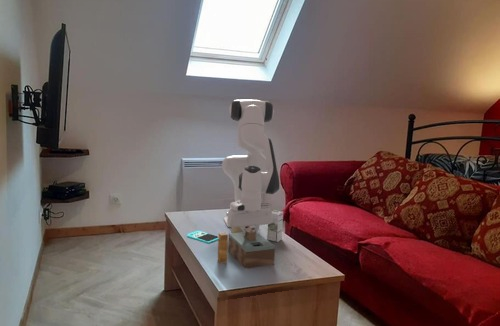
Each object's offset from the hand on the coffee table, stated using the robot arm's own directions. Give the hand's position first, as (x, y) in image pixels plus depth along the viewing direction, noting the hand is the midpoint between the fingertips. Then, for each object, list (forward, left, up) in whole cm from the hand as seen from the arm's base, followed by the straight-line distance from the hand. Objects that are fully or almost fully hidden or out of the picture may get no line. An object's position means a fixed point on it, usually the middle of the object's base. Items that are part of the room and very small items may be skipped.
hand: (249, 235), depth 178 cm
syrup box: (-18, +22, -11) cm, 31 cm away
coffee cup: (-20, +4, -11) cm, 23 cm away
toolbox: (+2, 0, -11) cm, 11 cm away
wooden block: (+2, -13, -11) cm, 17 cm away
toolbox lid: (+2, 0, -3) cm, 3 cm away
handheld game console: (-32, -11, -11) cm, 36 cm away
